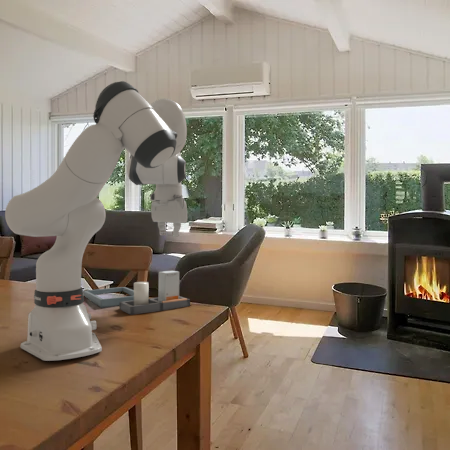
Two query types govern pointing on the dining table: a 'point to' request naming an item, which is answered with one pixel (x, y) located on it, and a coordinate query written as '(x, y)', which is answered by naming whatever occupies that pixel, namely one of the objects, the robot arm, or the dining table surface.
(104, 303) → the slate tray
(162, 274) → the skincare box
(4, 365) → the dining table surface
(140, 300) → the ceramic jar
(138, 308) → the slot holder
